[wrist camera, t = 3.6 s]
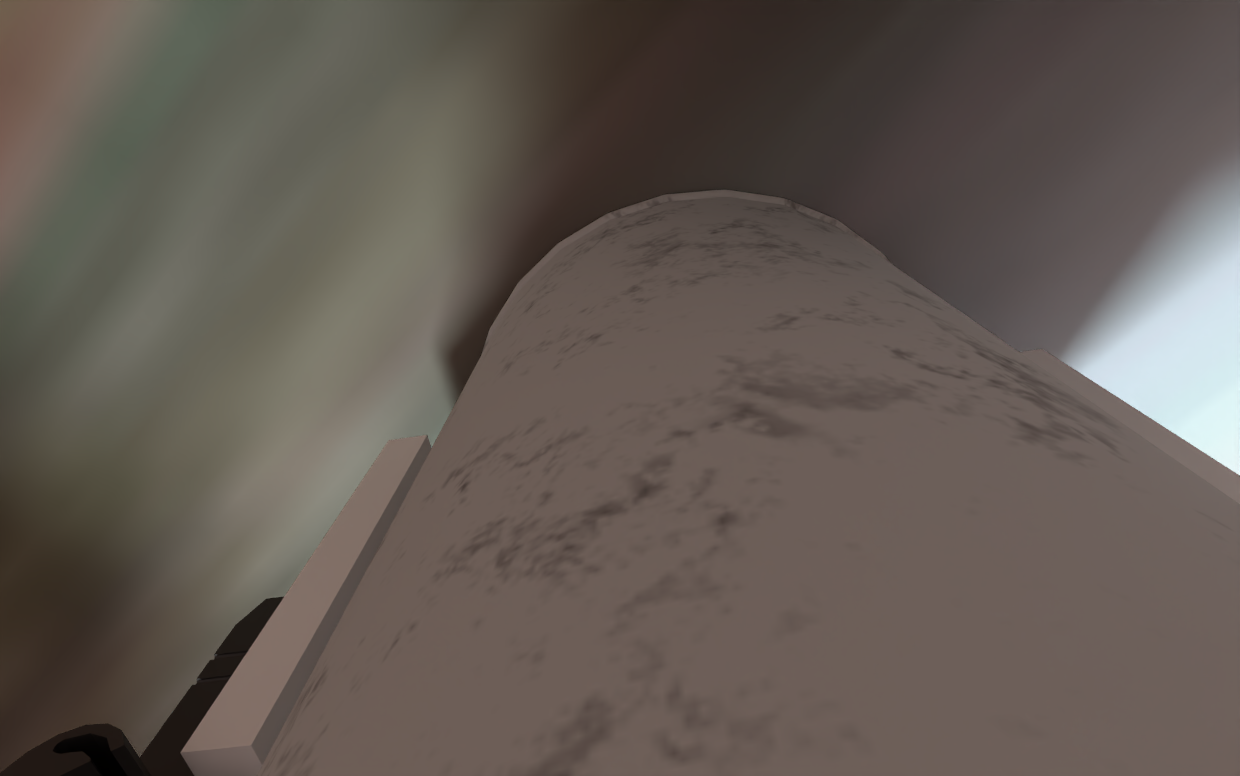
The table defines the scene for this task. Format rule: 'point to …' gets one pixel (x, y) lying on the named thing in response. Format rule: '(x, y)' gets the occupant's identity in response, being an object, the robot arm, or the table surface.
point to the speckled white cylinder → (776, 539)
